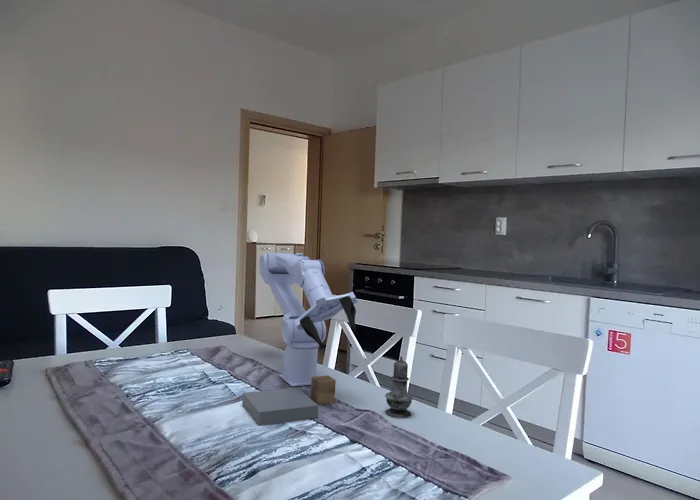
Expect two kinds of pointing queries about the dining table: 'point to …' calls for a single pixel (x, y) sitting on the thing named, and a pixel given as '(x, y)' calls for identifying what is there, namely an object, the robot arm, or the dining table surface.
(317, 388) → the walnut block
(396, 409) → the salt shaker
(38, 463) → the dining table surface
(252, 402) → the slate coaster
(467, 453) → the dining table surface
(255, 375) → the dining table surface
